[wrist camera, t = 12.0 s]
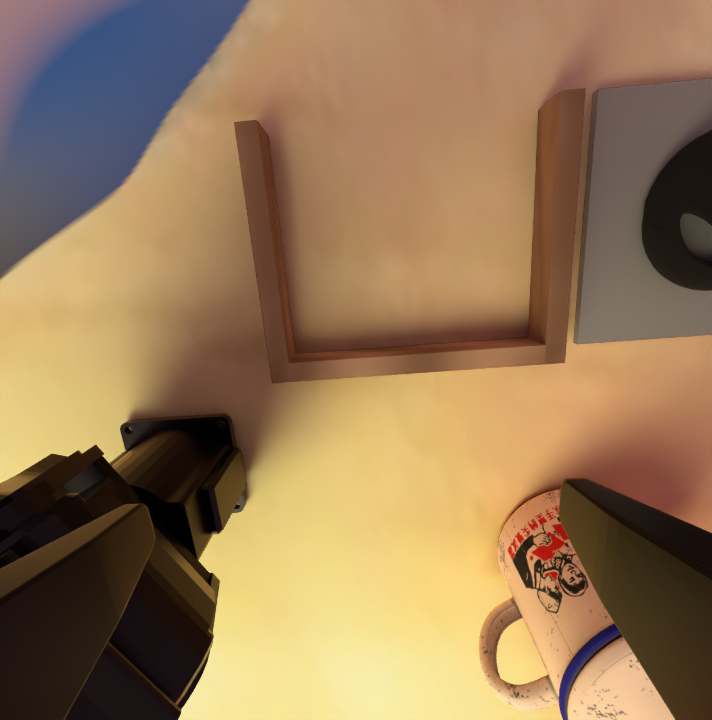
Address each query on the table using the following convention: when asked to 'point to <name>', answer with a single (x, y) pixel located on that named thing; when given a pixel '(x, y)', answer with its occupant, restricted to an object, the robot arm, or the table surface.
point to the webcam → (680, 214)
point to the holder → (540, 347)
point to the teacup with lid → (562, 627)
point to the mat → (638, 215)
